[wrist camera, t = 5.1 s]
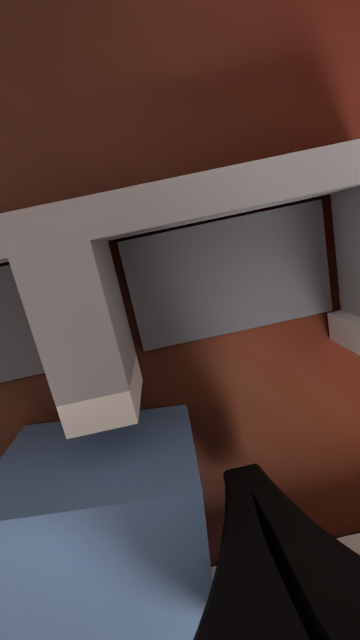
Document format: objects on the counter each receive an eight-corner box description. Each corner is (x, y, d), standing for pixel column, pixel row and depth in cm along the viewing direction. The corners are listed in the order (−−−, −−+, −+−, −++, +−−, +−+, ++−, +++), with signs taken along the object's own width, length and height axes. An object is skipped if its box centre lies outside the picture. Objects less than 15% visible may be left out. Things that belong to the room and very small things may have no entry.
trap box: (472, 525, 15) (561, 605, 11) (-185, 676, 14) (-285, 804, 11) (475, 131, 11) (608, 84, 8) (-420, 317, 10) (-680, 351, 7)
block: (201, 535, 14) (222, 671, 9) (56, 556, 14) (8, 706, 9) (186, 404, 12) (202, 492, 8) (24, 425, 12) (-51, 528, 8)
